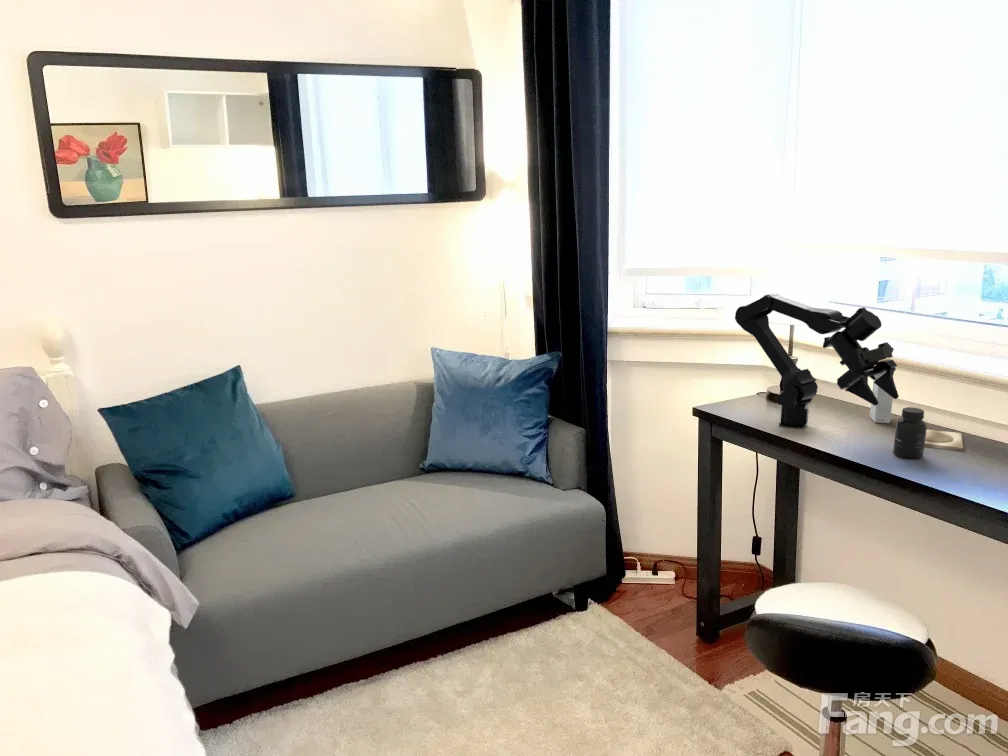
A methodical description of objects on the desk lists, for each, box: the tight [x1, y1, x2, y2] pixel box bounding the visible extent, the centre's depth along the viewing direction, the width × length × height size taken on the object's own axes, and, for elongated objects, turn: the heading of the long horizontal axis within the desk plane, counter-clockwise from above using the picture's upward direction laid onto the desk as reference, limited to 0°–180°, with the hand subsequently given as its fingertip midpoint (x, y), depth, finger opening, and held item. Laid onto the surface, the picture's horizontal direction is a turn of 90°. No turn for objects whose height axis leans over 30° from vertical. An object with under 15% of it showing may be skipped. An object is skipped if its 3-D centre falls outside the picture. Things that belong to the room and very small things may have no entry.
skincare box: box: [869, 380, 894, 424], centre depth 226 cm, size 6×4×12 cm
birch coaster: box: [924, 429, 964, 452], centre depth 210 cm, size 13×13×1 cm
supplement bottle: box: [892, 406, 928, 461], centre depth 197 cm, size 7×7×12 cm
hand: (887, 401), depth 201 cm, fingers open, 9 cm apart
